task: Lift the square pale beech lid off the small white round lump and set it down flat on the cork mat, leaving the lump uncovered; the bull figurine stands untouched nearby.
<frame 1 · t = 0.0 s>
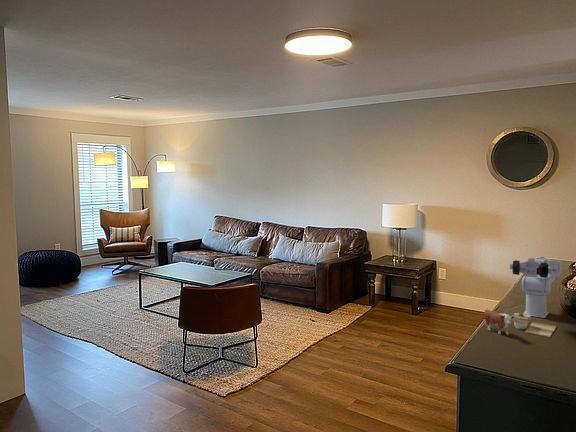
hand: (526, 270, 165), 22 cm above the table, tool horizontal, fingers open, 7 cm apart
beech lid: (520, 319, 166), point 3 cm above the table, touching white round lump
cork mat: (540, 330, 162), on the table
white round lump: (520, 327, 166), on the table
bull figurine: (498, 333, 161), on the table
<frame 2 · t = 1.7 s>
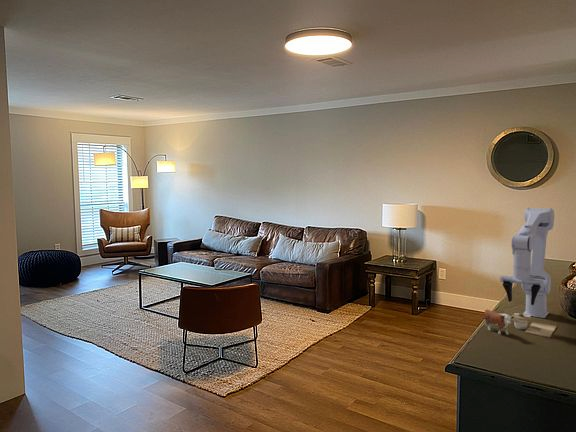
hand: (521, 302, 165), 9 cm above the table, tool pointing down, fingers open, 7 cm apart
nothing on the table moved.
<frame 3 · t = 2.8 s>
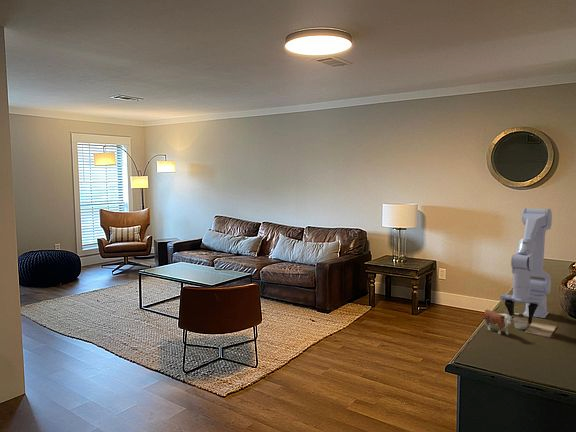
hand: (520, 321, 166), 2 cm above the table, tool pointing down, fingers closed on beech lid, 5 cm apart
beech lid: (520, 319, 166), point 3 cm above the table, touching white round lump, gripper
everything else where it was.
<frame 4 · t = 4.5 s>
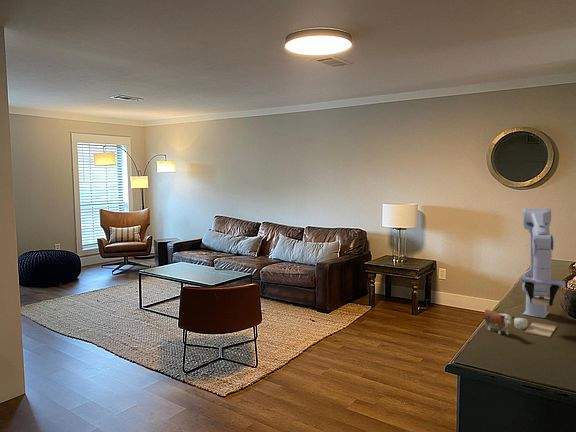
hand: (541, 303, 162), 10 cm above the table, tool pointing down, fingers closed on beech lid, 5 cm apart
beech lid: (541, 302, 161), point 10 cm above the table, touching gripper
everything else where it was.
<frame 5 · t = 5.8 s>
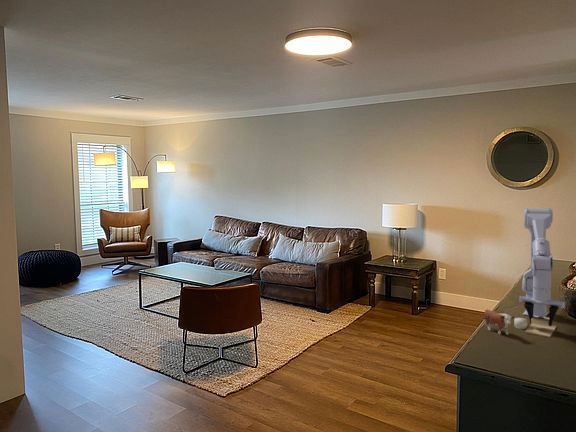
hand: (541, 323, 162), 2 cm above the table, tool pointing down, fingers closed on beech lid, 5 cm apart
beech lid: (541, 322, 162), point 3 cm above the table, touching gripper
everything else where it was.
when the fingers open (2 cm above the table, at t = 6.6 s): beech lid drops 2 cm, resting on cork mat.
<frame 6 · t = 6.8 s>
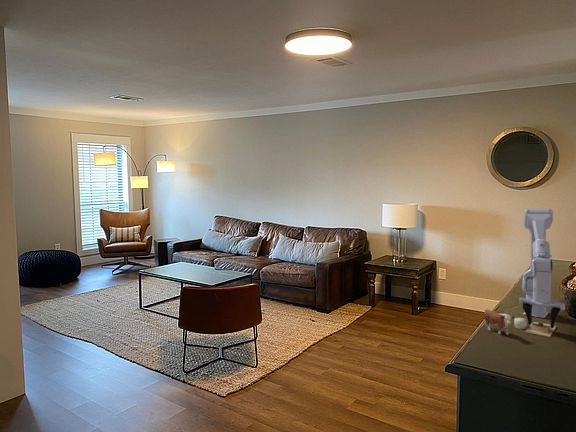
hand: (541, 325, 162), 2 cm above the table, tool pointing down, fingers open, 7 cm apart
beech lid: (540, 329, 162), resting on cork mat
everything else where it was.
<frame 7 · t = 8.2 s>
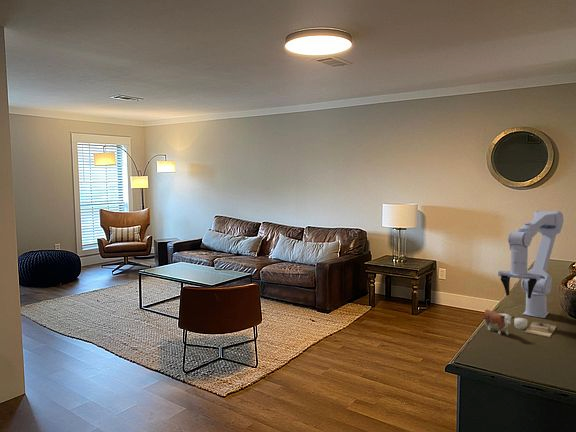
hand: (518, 296, 172), 10 cm above the table, tool pointing down, fingers open, 7 cm apart
nothing on the table moved.
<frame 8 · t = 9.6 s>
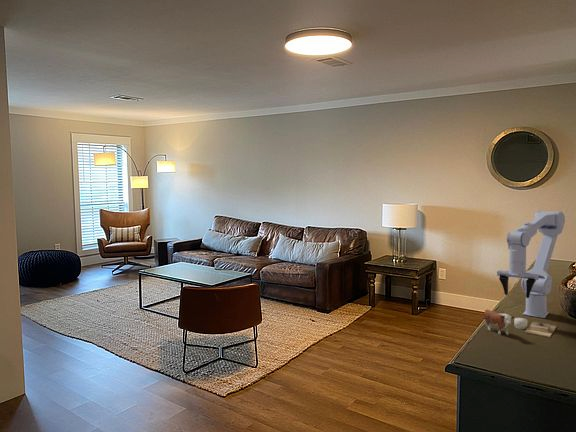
hand: (516, 295, 172), 10 cm above the table, tool pointing down, fingers open, 7 cm apart
nothing on the table moved.
at the end: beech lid inside the target area on the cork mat (0.1 cm from its centre), point 0.4 cm above the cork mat's base; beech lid 0.1 cm from the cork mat (horizontally); the gripper is holding nothing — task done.
